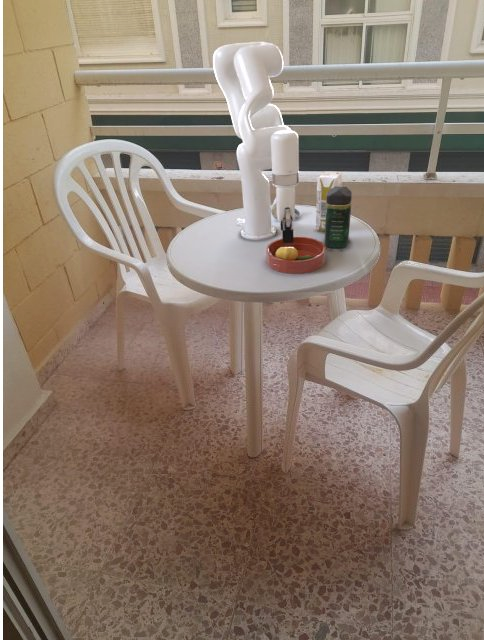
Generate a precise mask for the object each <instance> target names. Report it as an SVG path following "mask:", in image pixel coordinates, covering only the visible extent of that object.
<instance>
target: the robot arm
mask: <svg viewBox="0 0 484 640" xmlns="http://www.w3.org/2000/svg"><path fill="white" fill-rule="evenodd" d="M212 64H213V71H214V76H215V78H216V81H217V83H218V85H219V87H220V89H221V92H222V93H223V94H224V97H225V99H226V102H227V107H228V110H229V114H230V117H231V122H232V126H233V129H234V132H235V134H236V136H237V138H239V139H241V140H242V143H240V144H239V145H238V147H237V149H236V160H237V165H238V169H239V174H240V182H241V193H242V207H243V218H237V219H236V223H235V226H236V227H241V230H240V235H241V237H242V238H244V239H247V240H255V241H256V240H257V241H259V240H265V239H269V238H272V237H274V236H275V235H276V233H277V229H276V227H275V226H274V225H272V212H271V208H272V206H271V205H272V204H271V185H270V181H269V179H268V178H267V177H266V175H264V174H263V172H264V171H267V170H271V178H272V179H271V181H272V186H273V187H275V198H276V206H277V219H276V220H277V222H278V223H280V231H281V233H282V235H281V236H282V237H281V238H283V243H291V242H293V241H294V237H295V236H294V228H293V225H294V224H293V222H294V221H295V219H294V217H295V215H296V213H295V209H296V187H297V186H298V185H299V184H300V154H299V151H300V149H299V148H300V146H299V145H300V144H299V135H298V133H297V132H296V131H294V130H292V129H291V128H290V127H289V126H287V125H285V124H284V121H283V117H282V113H281V111H280V109H279V108H278V107H277V106H276V105H275V104H272V103H271V102H272V100H273V99H274V95H275V94H274V93H275V92H274V87H273V86H272V83H271V80H270V78H274V77H279V75H281V73H282V72H283V69H284V58H283V54H282V51H281V50H280V48H279V47H278V45H276V44H274V43H270V42H266V41H251V42H240V43H239V42H238V43H230V44H224V45H221V46H219V47H217V48H216V49H215V51H214V53H213V56H212ZM290 216H291V217H290Z"/></svg>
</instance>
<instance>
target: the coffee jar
mask: <svg viewBox="0 0 484 640" xmlns="http://www.w3.org/2000/svg"><path fill="white" fill-rule="evenodd" d="M352 196H353V193H352V190H351V189H349V188H348V187H347V186H342V187H339V186H335V187H334V188H332V189H330V190H329V191H328V193H327V196H326V197H327V198H326V220H325V231H324V242H323V244H324V245H325V247H326V248H327V249H333V250H340V249H346V248H347V246H348V244H349V239H350V238H349V237H350V227H351V226H350V225H351V213H352V198H353V197H352Z"/></svg>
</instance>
